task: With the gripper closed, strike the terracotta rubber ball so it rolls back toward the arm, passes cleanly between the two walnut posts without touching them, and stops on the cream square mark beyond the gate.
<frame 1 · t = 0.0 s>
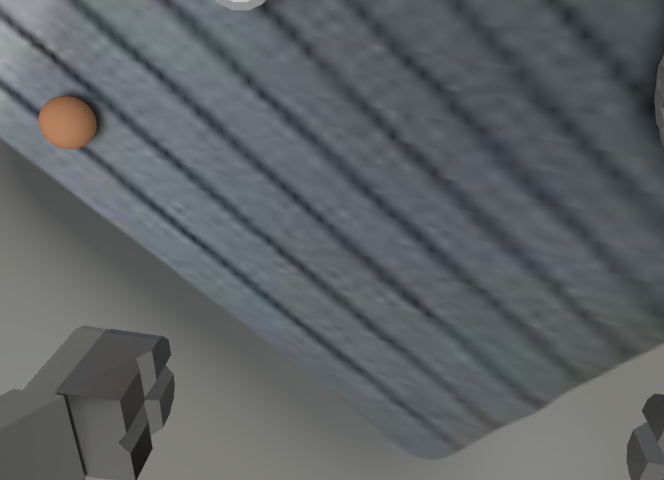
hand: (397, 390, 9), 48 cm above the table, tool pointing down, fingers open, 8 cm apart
ball: (68, 122, 57), on the table
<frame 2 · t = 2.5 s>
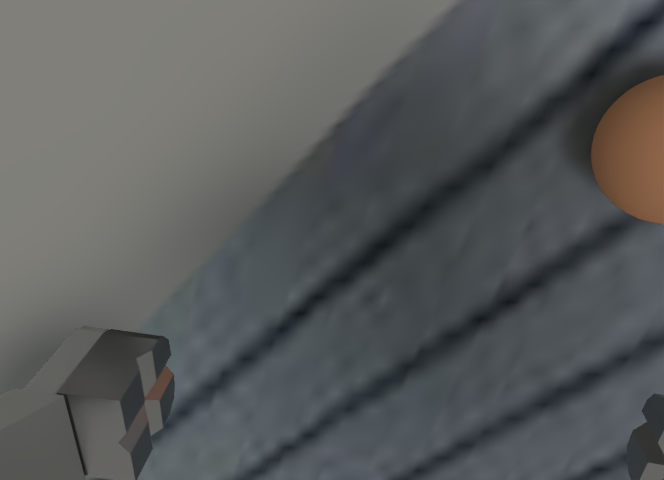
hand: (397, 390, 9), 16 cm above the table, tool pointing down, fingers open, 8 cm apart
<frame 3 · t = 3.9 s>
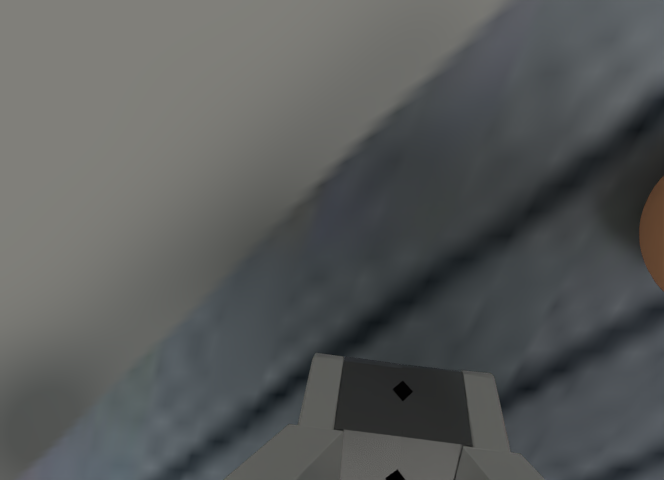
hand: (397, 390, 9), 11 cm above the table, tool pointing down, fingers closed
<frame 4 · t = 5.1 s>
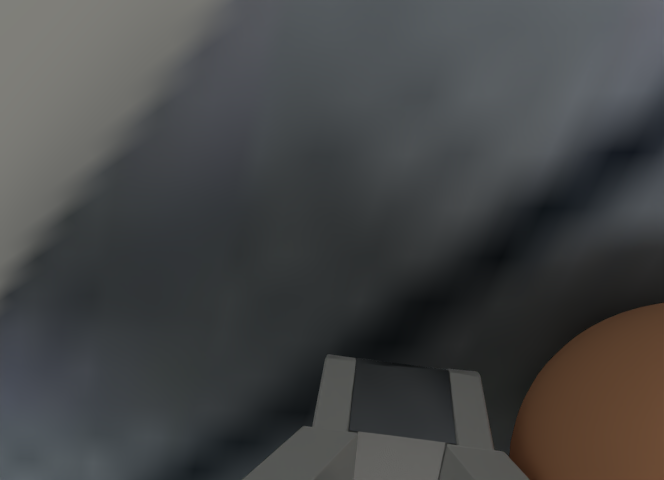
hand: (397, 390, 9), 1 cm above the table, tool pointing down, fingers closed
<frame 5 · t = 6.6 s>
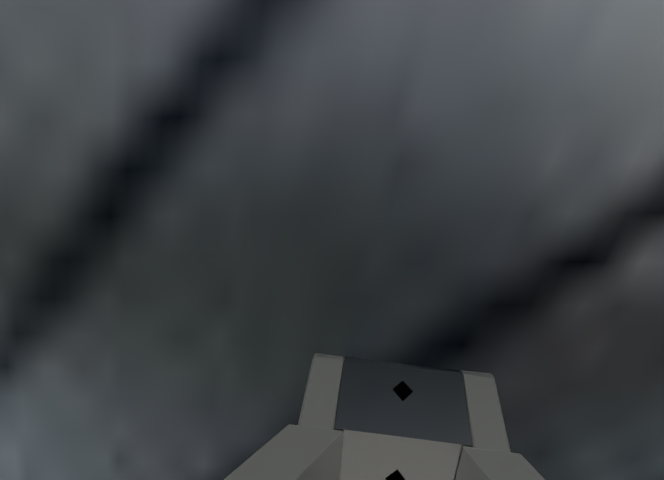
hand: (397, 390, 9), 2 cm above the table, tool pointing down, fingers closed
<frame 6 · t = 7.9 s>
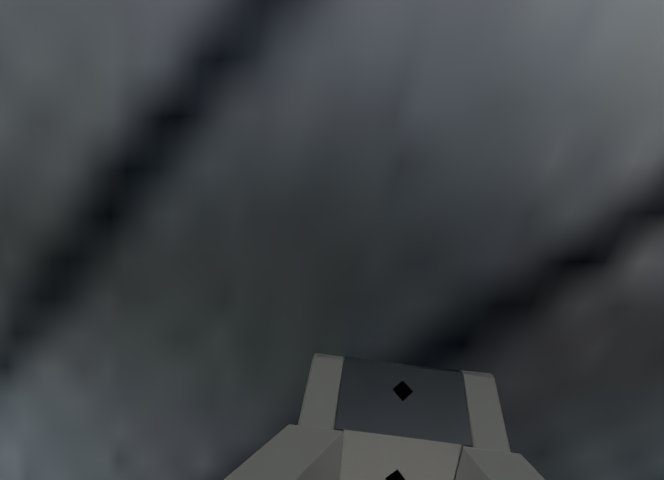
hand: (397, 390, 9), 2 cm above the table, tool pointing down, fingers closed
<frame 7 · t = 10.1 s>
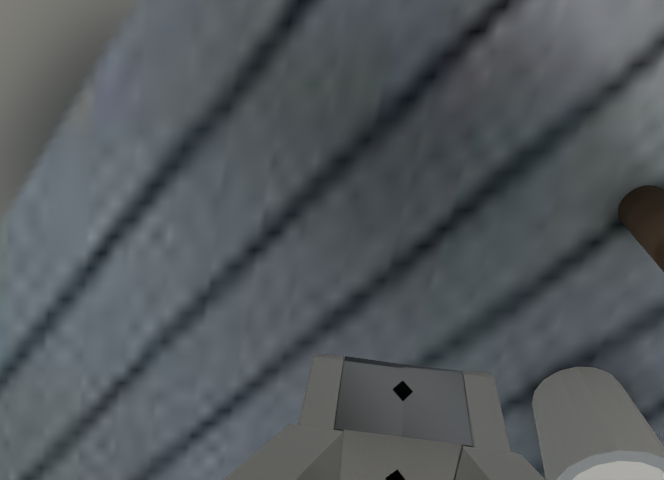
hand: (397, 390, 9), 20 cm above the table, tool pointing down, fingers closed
post 1: (643, 208, 28), on the table
shot glass: (575, 397, 35), on the table
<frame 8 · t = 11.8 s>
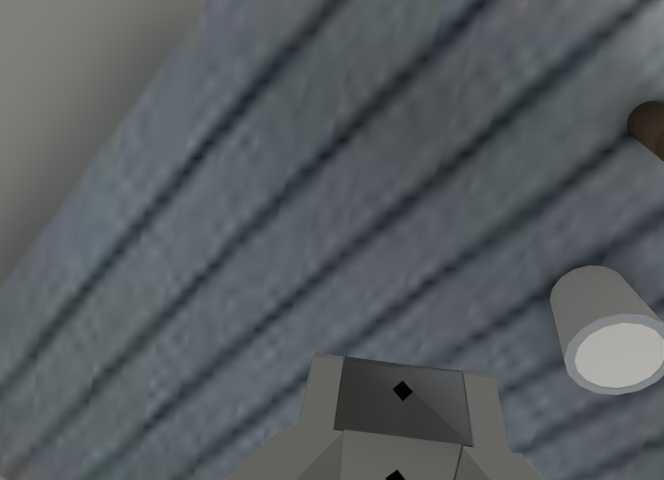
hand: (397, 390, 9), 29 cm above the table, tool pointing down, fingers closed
post 1: (648, 120, 34), on the table
shot glass: (587, 295, 41), on the table
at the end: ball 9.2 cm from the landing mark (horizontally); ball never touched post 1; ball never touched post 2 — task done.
